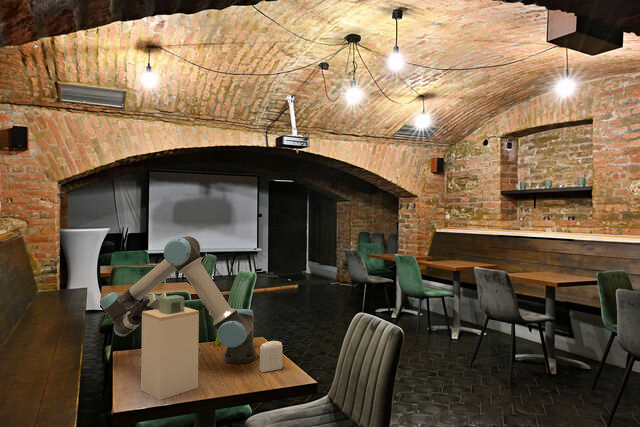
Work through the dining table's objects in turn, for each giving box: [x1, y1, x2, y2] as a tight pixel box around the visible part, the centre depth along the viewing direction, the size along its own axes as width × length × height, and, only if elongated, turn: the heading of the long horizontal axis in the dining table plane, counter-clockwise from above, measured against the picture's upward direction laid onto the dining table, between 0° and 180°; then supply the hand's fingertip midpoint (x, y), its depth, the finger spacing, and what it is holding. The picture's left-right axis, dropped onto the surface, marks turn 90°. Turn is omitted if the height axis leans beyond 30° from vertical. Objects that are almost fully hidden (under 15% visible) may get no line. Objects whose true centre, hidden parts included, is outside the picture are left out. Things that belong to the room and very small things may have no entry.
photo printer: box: [259, 340, 283, 373], centre depth 194 cm, size 10×4×12 cm, turn 123°
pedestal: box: [140, 306, 200, 401], centre depth 172 cm, size 14×16×30 cm
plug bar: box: [142, 293, 185, 314], centre depth 177 cm, size 22×7×6 cm, turn 48°
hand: (159, 296), depth 178 cm, fingers closed on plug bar, 4 cm apart
